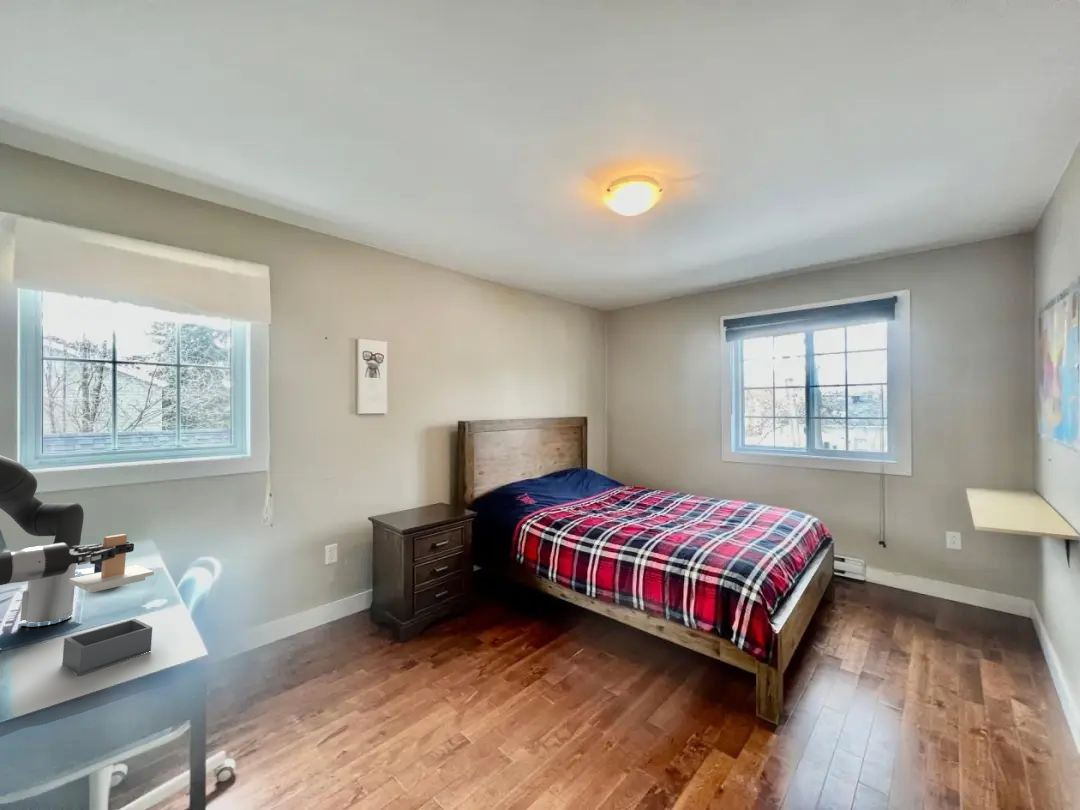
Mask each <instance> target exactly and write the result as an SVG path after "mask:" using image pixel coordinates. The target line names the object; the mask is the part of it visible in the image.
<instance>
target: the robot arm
mask: <svg viewBox="0 0 1080 810" xmlns="http://www.w3.org/2000/svg"><path fill="white" fill-rule="evenodd" d="M37 488H38V481H37V478H36V477H35V476H34V474H33V473H32V472H31V471H30V470H28V469H27V468H26V467H25V466H24V465H23V464H21V463H19V462H18V461H16V460H14V459H12V458H9V457H7V456H4V455H1V454H0V509H1V510H2V511H3V512H4V513H6V514H7V515H8V516H10V518H12V520H13V521H14V522H15V523H16V524H17V525H18V526H19V527H20V528H21V529H22V530H23V531H24V532H26V533H27V534H29V535H30V536H35V537H54V540H53V543H50V544H44V545H35V546H30V547H24V548H19V549H15V550H11V551H7V552H6V551H5V552H0V586H3V585H9V584H16V583H24V582H27V590H24V591H23V592H22V595H21V596H22V597H21V598H22V599H21V608H20V609H21V610H20V621H22V620H26V621H29V622H44V621H53V620H58V619H62V618H66V617H68V616H71V615H72V616H73V611H74V597H75V587H76V586H75V585H73V584H71V583H69V579H70V578H75V572H76V570H77V566H81V565H82V566H83V565H87V564H90V565H91V564H92V565H95V563H98V562H101V561H105V560H108V559H111V558H114V557H115V555H117V554H122V553H126V554H127V553H131V552H134V548H135V544H134V543H133V542H129V541H127V543H126V544H123V545H117V546H114V545H113V546H109V547H103V542H100V543H93V544H92V543H90V544H82V545H81V539H82V533H83V531H82V530H83V525H84V514H85V513H84V508H83V506H82V505H81V504H79V503H77V502H49V503H48V502H43V501H42V500H39V499H38V498H37V497H35V494H36V492H37ZM108 552H109V554H108ZM20 621H19V622H20Z"/></svg>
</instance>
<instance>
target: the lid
mask: <svg viewBox="0 0 1080 810" xmlns="http://www.w3.org/2000/svg"><path fill="white" fill-rule="evenodd" d="M127 540H128V535H127V534H126V533H119V534H114V535H109V536H108V535H107V536H103V542H102V543H103V547H109V546H113V545H114V546H117V545H123V544H126V543H127V542H128V541H127ZM108 554H109V552H108ZM126 556H127V553H122V554H117V555H115V557H114V558H111V559H108V560H105V561H102V570H101V572H99V573H94V574H89V575H84V576H80V577H75V578H70V579H69V583H71V584H73V585H75V586H74V587H77V588H79V589H82V590H83V591H86V592H88V593H96V592H99V591H105V590H108V589H109V588H110V589H113V587H114V588H117V587H118V588H119V587H121V586H126V585H130V584H134V583H135V584H136V583H139V582H142V581H143V582H144V581H146V577H151V576H154V575H155V571H154V570H151V569H148V568H146V567H143V566H141V565H137V564H134V565H130V566H126ZM110 589H109V590H110Z"/></svg>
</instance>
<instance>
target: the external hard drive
mask: <svg viewBox="0 0 1080 810" xmlns="http://www.w3.org/2000/svg"><path fill="white" fill-rule="evenodd" d="M76 571H78V572H81V573H82V574H94V567H89V568H82V569H81V568H80V569H76ZM76 575H77V574H75V576H76Z"/></svg>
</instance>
